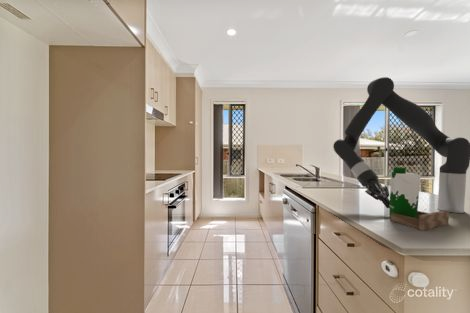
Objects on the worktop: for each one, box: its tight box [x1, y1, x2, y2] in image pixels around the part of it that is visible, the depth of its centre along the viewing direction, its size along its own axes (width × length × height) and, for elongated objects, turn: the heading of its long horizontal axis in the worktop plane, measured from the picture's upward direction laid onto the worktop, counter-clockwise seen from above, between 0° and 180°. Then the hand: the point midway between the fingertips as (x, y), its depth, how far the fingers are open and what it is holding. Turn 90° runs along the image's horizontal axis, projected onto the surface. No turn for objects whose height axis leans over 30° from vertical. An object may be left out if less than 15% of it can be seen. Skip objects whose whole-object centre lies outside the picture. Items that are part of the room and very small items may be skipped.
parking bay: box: [390, 210, 450, 232], centre depth 94 cm, size 18×12×5 cm, turn 118°
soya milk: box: [388, 166, 422, 218], centre depth 99 cm, size 9×9×20 cm
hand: (390, 207), depth 103 cm, fingers closed
